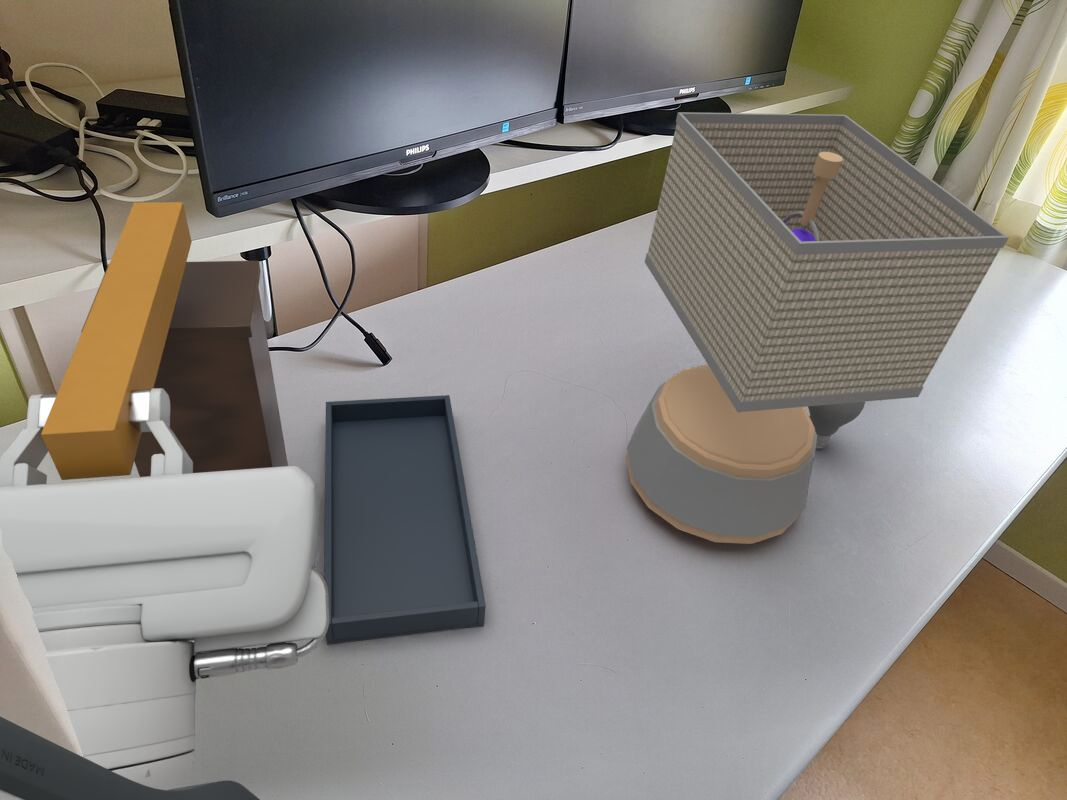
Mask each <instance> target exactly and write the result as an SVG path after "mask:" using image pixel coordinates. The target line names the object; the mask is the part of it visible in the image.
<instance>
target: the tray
mask: <svg viewBox="0 0 1067 800" xmlns="http://www.w3.org/2000/svg"><path fill="white" fill-rule="evenodd" d="M324 441H325V444H324V445H325V447H324V449H325V450H324V451H325V452H324V453H325V455H324V553H323V554H324V556H323V558H324V563H323V565H324V566H323V567H324V570H323V574H324V575H323V578H324V580H325V581H326V584H327V587H328V595H329V626H328V630H327V633H326V635H325V642H326V645H334V644H342V643H350V642H358V641H367V640H375V639H384V638H392V637H399V636H400V637H401V636H410V635H417V634H418V635H419V634H426V633H434V632H442V631H450V630H451V631H452V630H459V629H469V628H477V627H484V625H485V616H486V607H487V606H486V599H485V595H484V587H483V582H482V576H481V571H480V570H481V569H480V565H479V558H478V554H477V547H476V541H475V536H474V529H473V525H472V524H473V523H472V518H471V511H470V507H469V501H468V495H467V490H466V484H465V478H464V472H463V465H462V460H461V454H460V449H459V443H458V438H457V431H456V427H455V419H454V413H453V408H452V402H451V397H450V394H445V395H428V396H427V395H425V396H408V397H407V396H406V397H390V398H388V397H387V398H371V399H369V398H368V399H354V400H352V399H351V400H334V401H326V402H325V440H324Z"/></svg>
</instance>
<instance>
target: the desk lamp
mask: <svg viewBox="0 0 1067 800" xmlns="http://www.w3.org/2000/svg"><path fill="white" fill-rule="evenodd" d="M675 123H676V125H675V129H674V133H673V138H672V143H671V148H670V152H669V156H668V160H667V166H666V168H665V169H666V170H665V173H664V179H663V184H662V187H661V192H660V196H659V200H658V205H657V210H656V214H655V219H654V225H653V228H652V232H651V238H650V241H649V246H648V249H647V252H646V254H645V260H644V264H645V265H646V267H647V269H648V270H649V272H650V274H651V275H652V277H653V279H654V280H655V282H656V283H657V285H658V286H659V288H660V290H661V291H662V293H663V294H664V296H665V298H666V299H667V301H668V303H669V304H670V306H671V307H672V309H673V311H674V312H675V314H676V315H677V317H678V319H679V321H680V323H681V324H682V326H683V327H684V329H685V330H686V332H687V333H688V335H689V337H690V338H691V339H692V341H693V343H694V345H695V346H696V348H697V349H698V351H699V352H700V354H701V356H702V358H703V359H704V360H705V362H706V364H702V365H699V366H693V367H689V368H685V369H681V370H680V371H679V372H677V373H675V374H674V375H673V376H671V377H670V378H668V379H667V380H666V381H664V382H663V383H662V384H660V385H659V386H658V387H657V389H656V391H655V393H654V394H653V396H652V398H651V399H650V401H649V403H648V404H647V406H646V408H645V410H644V412H643V413H642V416H641V417H640V419H639V421H638V422H637V424H636V426H635V428H634V430H633V433H632V435H631V437H630V439H629V442H628V444H627V447H626V450H627V453H626V455H625V458H626V463H627V465H626V466H627V470H628V478H629V482H630V483H631V485H632V487H633V488H634V490H635V491H636V492H637V494H638V495H639V496H640V498H641V500H642V501H643V502H644V503H645V505H646V506H647V508H648V509H650V510H651V511H652V512H653V513H654V514H656V515H658V516H659V517H661V519H663V520H665V521H666V522H668V524H670V525H672V527H674V528H676V529H677V530H679V531H682V532H685V533H687V534H690V535H694V536H695V537H699V538H702V539H705V540H708V541H710V542H713V543H724V544H747V545H748V544H750V545H751V544H752V545H753V544H756V543H759V542H762V541H765V540H768V539H771V538H774V537H777V536H780V535H783V534H784V533H785V531H787V529H788V528H790V526H792V524H793V523H794V522H795V521H796V519H798V518H799V516H801V513H802V512H803V511H804V510H805V509H806V506H807V500H808V495H809V494H808V493H809V489H810V483H811V477H812V472H813V465H814V460H815V455H816V454H815V453H816V448H815V447H816V440H817V434H816V432H815V428H814V425H813V423H812V421H811V419H810V413H809V411H808V410H807V407H808V406H819V405H830V404H842V403H854V402H865V403H866V402H876V401H888V400H899V399H912V398H919V397H920V395H921V393H922V392H923V389H924V384H925V383H926V381H927V379H928V378H929V375H930V374H931V372H932V370H933V368H934V367H935V365H936V363H938V362H937V361H938V360H939V358H940V356H941V354H942V353H943V351H944V350H945V347H946V346H947V344H948V342H949V340H950V338H951V337H952V335H953V333H954V331H955V330H956V328H957V326H958V324H959V323H960V321H961V320H962V317H963V316H964V314H965V313H966V311H967V309H968V307H969V305H970V303H971V301H973V298H974V296H975V295H976V293H977V291H978V289H979V288H980V285H981V284H982V282H983V281H984V279H985V277H986V275H987V274H988V272H989V270H990V268H991V267H992V265H993V263H994V261H995V260H996V259H997V258H996V257H997V256H998V254H999V252H1000V251H1001V249H1003V248H1004V247H1005V245H1006V244H1007V242H1008V240H1009V238H1010V237H1009V236H1008V235H1006V234H1005V233H1004V232H1002V230H1000V229H998V228H997V227H996V226H995V225H993V224H992V223H991V222H989V221H988V220H987V219H985V218H984V217H983V216H981V215H980V214H978V213H977V212H976V211H974V210H973V209H972V208H971V207H969V206H968V205H967V204H965V203H964V202H962V201H961V200H960V199H959V198H957V197H956V196H954V195H953V194H952V193H951V192H950V191H948V190H947V189H945V188H944V187H943V186H941V185H940V184H939V183H937V182H936V181H934V179H932V178H931V177H929V176H928V175H927V174H925V173H924V172H923V171H921V170H920V169H918V168H917V167H916V166H915V165H913V164H912V163H911V162H909V161H908V160H907V159H905V158H904V157H903V156H901V155H900V154H899V153H897V152H896V151H895V150H893V149H892V148H891V147H889V146H888V145H887V144H885V143H884V142H882V141H881V140H880V139H878V138H877V137H876V136H875V135H874V134H872V133H870V132H869V131H868V130H866V129H865V128H863V126H862V125H860V124H858V123H857V122H856V121H855V120H853V119H852V118H850V117H849V116H848V115H846V114H827V113H826V114H825V113H824V114H820V113H819V114H817V113H757V112H754V113H753V112H752V113H751V112H745V113H744V112H690V111H689V112H688V111H687V112H686V111H685V112H682V111H681V112H677V115H676V119H675Z"/></svg>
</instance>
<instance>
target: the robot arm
mask: <svg viewBox="0 0 1067 800" xmlns="http://www.w3.org/2000/svg"><path fill="white" fill-rule="evenodd" d="M56 396H57V393H45V394H44V393H43V394H31V395H30V396H29V398H28V402H27V413H26V423H25V424H26V425H25V428H22V430H20V432H19V433H18V435H17V436H16V437H15V438H14V439H13V441H12V442H11V443H10V445H9V446H8V447H7V449H6V450H5V451H4V452H3V454H2V455H1V456H0V527H1V529H2V545H3V549H4V551H5V552H6V554H7V555H8V557H9V558H10V559H11V560H12V563H13V567H14V569H15V572H16V574H17V578H18V582H19V585H20V587H21V589H22V591H23V593H24V595H25V596H26V598H27V599H28V601H29V603H30V605H31V607H32V611H33V613H34V614H32V615H33V619H34V621H35V624H36V627H37V629H38V631H39V634H40V637H41V639H42V641H43V644H44V646H45V649H46V651H47V652H45V655H46V658H47V660H48V663H49V665H50V668H51V670H52V672H53V675H54V678H55V680H56V683H57V686H58V688H59V690H60V692H61V695H62V697H63V699H64V702H65V705H66V708H67V711H68V714H69V717H70V720H71V723H72V725H73V728H74V730H75V733H76V736H77V739H78V742H79V745H80V748H81V751H82V754H83V757H82V756H80V755H78V754H76V753H74V752H72V751H70V750H68V749H66V748H64V747H62V746H60V745H58V744H56V743H54V742H52V741H50V740H48V739H46V738H44V737H42V736H40V735H38V734H36V733H33V732H31V731H29V730H27V729H25V728H23V727H21V726H19V725H17V724H15V723H13V722H11V721H9V720H7V719H5V718H3V717H1V716H0V800H261V799H260V798H259V797H258V796H256V795H255V794H254V793H253V792H252V791H251V790H249V789H248V788H247V787H246V786H245V785H243V784H241V783H240V782H237V781H235V780H227V779H226V780H218V781H212V782H211V781H210V782H207V783H206V782H205V783H201V784H200V783H199V784H194V785H193V784H192V785H188V784H189V780H190V777H191V775H192V771H193V768H194V763H195V755H196V749H195V748H196V693H197V680H203V679H209V678H217V677H226V676H230V675H236V674H241V673H244V672H249V671H254V670H262V669H267V670H280V669H285V668H288V667H292V666H295V665H297V663H298V662H299V661H298V660H299V658H301V657H304V656H306V655H308V654H310V653H311V652H313V651H314V650H315V649H316V648H318V646H320V644H321V643H322V642H323V640H324V638H326V633H327V630H328V626H329V595H328V587H327V584H326V581H325V580H324V575H322V573H321V572H320V571H319V570H317V569H316V564H317V554H318V546H319V531H320V530H319V529H320V493H319V492H320V491H319V488H318V485H317V484H316V482H315V481H314V479H313V478H312V477H311V476H310V475H309V474H308V473H307V472H306V471H304V469H302V468H301V467H299V466H296V465H288V466H283V467H270V468H256V469H242V470H229V471H215V472H202V473H193V462H192V460H191V459H190V457H189V456H188V454H187V452H186V451H185V449H184V448H183V446H182V445H181V443H180V442H179V440H178V439H177V437H176V436H175V434H174V433H173V431H172V430H171V429H170V399H169V395H168V394H167V393H166V392H165V390H164V389H163V388H153V389H144V390H131V392H130V397H129V402H130V403H131V404H132V405H131V406H130V407H129V419H128V422H129V423H130V424H131V425H132V426H134V427H135V429H137V430H138V431H139V432H152V433H153V435H154V436H155V438H156V439H157V441H158V443H159V444H160V446H161V447H162V449H163V450H164V452H165V456H164V455H163V454H154V455H153V456H152V459H151V476H147V477H140V476H135V477H122V478H107V479H95V480H82V481H81V480H80V481H68V482H54V483H48V482H47V481H48V475H47V474H46V473H44V472H43V471H41V470H39V469H38V468H39V466H40V465H41V463H42V462H43V460H44V459H45V457H46V456H47V454H48V453H49V451H48V449H47V447H46V445H45V442H44V440H43V438H42V436H41V433H42V430H43V428H44V425H45V423H46V421H47V418H48V416H49V413H50V411H51V408H52V406H53V403H54V401H55V398H56ZM308 640H310V641H309V642H307V643H306V644H305V645H304V644H303V645H302V646H300V647H298V644H297V643H296V642H298V641H308ZM257 646H259V647H257Z"/></svg>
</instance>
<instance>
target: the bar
mask: <svg viewBox="0 0 1067 800" xmlns="http://www.w3.org/2000/svg"><path fill="white" fill-rule="evenodd" d="M184 205H185V204H184V202H183V201H182V202H180V201H178V202H176V201H175V202H173V201H171V202H169V201H168V202H166V201H163V202H161V201H157V202H155V201H154V202H153V201H150V202H146V201H145V202H143V201H142V202H139V201H137V202H133V204H132V207H131V209H130V211H129V214H128V216H127V219H126V221H125V223H124V226H123V229H122V231H121V233H120V236H119V239H118V241H117V244H116V246H115V249H114V252H113V253H112V256H111V259H110V261H109V263H110V264H109V263H108V264H109V266H108V265H107V267H108V269H107V268H106V269H107V271H106V270H105V272H106V274H105V273H104V274H105V276H104V275H103V276H104V278H103V277H102V279H103V281H102V280H101V281H102V283H101V282H100V284H101V286H100V285H99V286H100V288H99V287H98V289H99V291H98V290H97V291H98V293H97V292H96V294H97V296H96V295H95V296H96V298H95V297H94V299H95V301H94V300H93V301H94V303H93V302H92V304H93V306H92V305H91V306H92V308H91V307H90V309H91V311H90V310H89V311H90V313H89V312H88V314H89V316H88V315H87V316H88V318H87V317H86V319H87V321H86V320H85V321H86V323H85V322H84V324H85V326H84V325H83V326H84V328H83V327H82V329H83V331H82V330H81V331H82V333H81V334H80V336H79V339H78V340H77V343H76V346H75V348H74V351H73V353H72V356H71V359H70V360H69V363H68V366H67V367H66V371H65V373H64V375H63V378H62V380H61V383H60V386H59V388H58V391H57V393H56V394H57V396H56V398H55V401H54V403H53V406H52V408H51V411H50V413H49V416H48V418H47V421H46V423H45V425H44V428H43V430H42V433H41V436H42V438H43V440H44V442H45V445H46V447H47V449H48V453H49V455H50V457H51V460H52V462H53V464H54V466H55V469H56V471H57V473H58V475H59V477H60V480H61V481H67V480H68V481H70V480H82V479H96V478H111V477H125V476H131V475H132V471H133V467H134V465H135V462H134V460H135V456H136V452H137V448H138V445H139V441H140V437H141V433H142V432H139V431H138V430H137V429H135V427H134V426H132V425H131V424H130V423H129V422H128V419H129V407H130V406H131V405H132V404H131V403H130V402H129V397H130V392H131V390H144V389H153V387H154V384H155V380H156V376H157V372H158V368H159V364H160V361H161V357H162V353H163V349H164V345H165V342H166V338H167V334H168V330H169V326H170V323H171V319H172V315H173V311H174V307H175V303H176V300H177V296H178V292H179V288H180V284H181V281H182V277H183V273H184V269H185V265H186V262H188V259H189V258H188V257H189V253H190V250H191V247H192V243H193V242H192V238H191V231H190V228H189V223H188V220H187V219H188V218H187V215H186V211H185V206H184Z"/></svg>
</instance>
